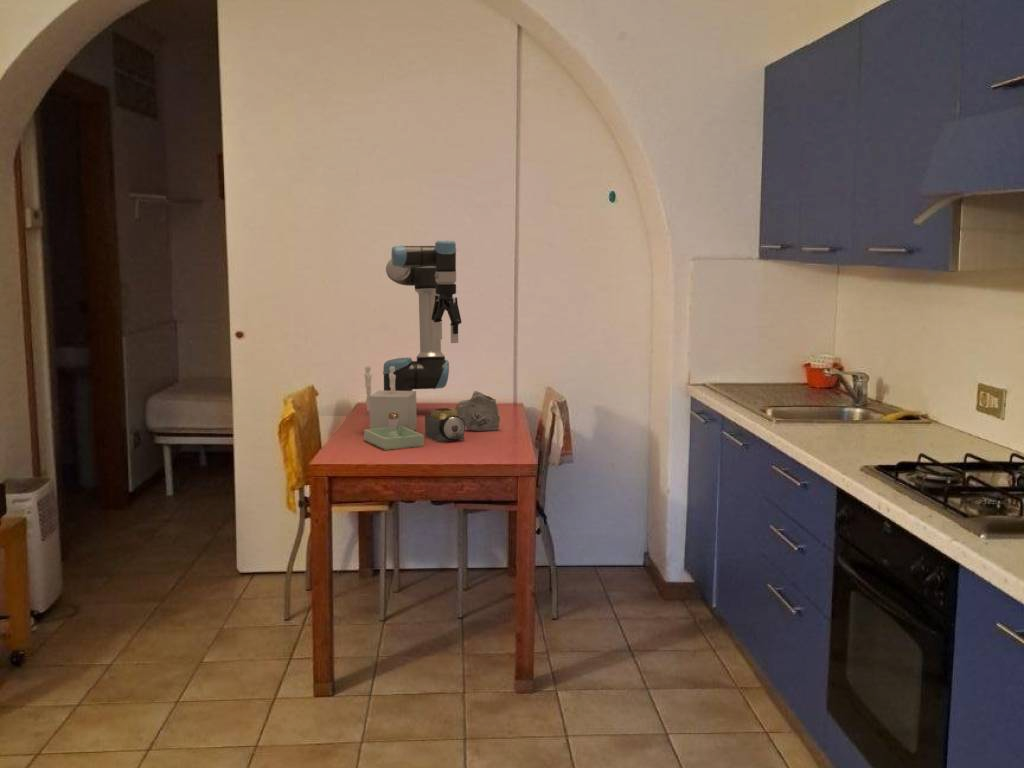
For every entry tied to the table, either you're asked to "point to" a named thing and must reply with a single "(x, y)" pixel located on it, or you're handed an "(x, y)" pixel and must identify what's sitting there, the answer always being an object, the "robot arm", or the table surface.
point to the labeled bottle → (393, 425)
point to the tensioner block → (444, 425)
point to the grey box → (390, 404)
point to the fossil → (479, 412)
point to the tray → (403, 441)
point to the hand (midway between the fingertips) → (446, 341)
